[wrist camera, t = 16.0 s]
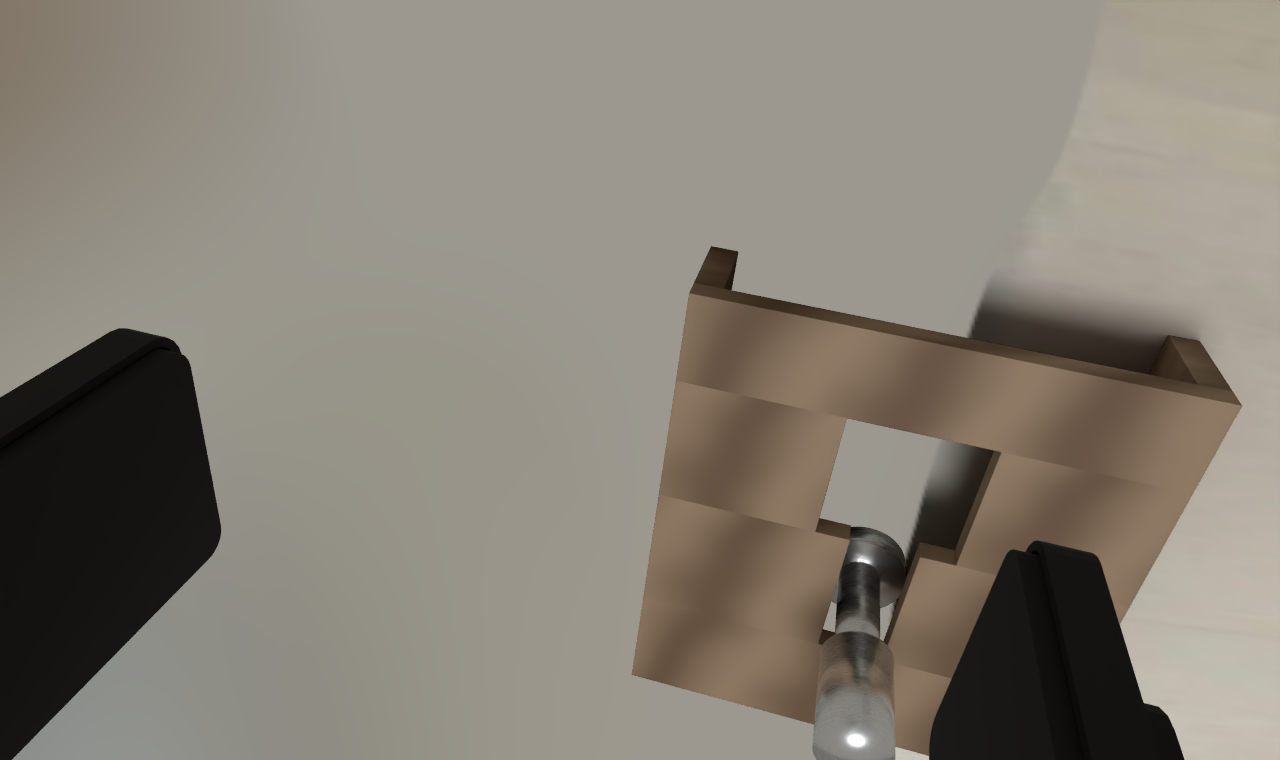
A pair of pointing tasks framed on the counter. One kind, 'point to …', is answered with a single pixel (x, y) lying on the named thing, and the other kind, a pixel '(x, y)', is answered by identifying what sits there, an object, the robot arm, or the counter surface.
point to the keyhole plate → (914, 402)
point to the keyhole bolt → (859, 655)
